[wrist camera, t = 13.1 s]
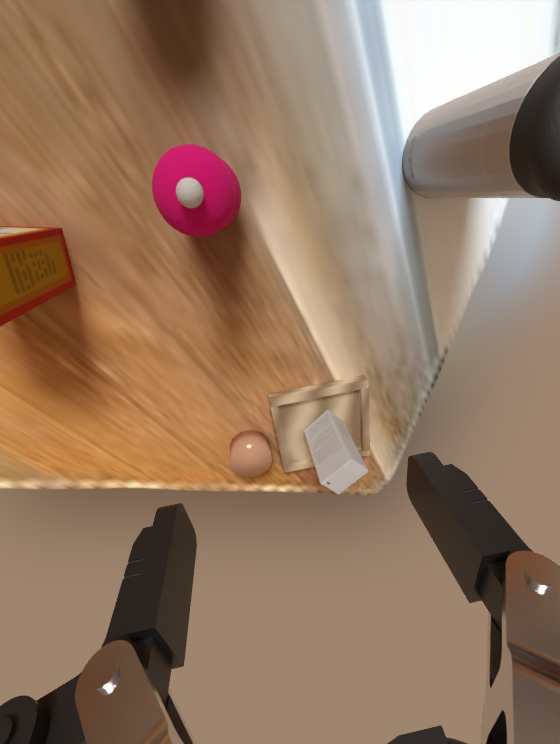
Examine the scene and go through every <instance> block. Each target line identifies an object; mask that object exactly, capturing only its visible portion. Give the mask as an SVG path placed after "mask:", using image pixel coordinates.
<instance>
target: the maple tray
mask: <svg viewBox="0 0 560 744" xmlns="http://www.w3.org/2000/svg"><path fill="white" fill-rule="evenodd" d="M268 396H269V402H270V406H271V411H272V416H273V421H274V426H275V430H276V435H277V440H278V445H279V450H280V455H281V459H282V464H283V469H284V473H286V472H291V471H296V470H301V469H305V468H310V467H315V465H314V462H313V459H312V456H311V453H310V449H309V446H308V443H307V440H306V437H305V434H304V430H305V429H306V428H307V427H308V426H310V425H311V424H312V423H313V422H314V421H315V420H316V419H317V418H318V417H320V416H321V415H322V414H323V413H324V412H325V411H326V410H327V409H329V410H330V411H331V412H333V413H334V414H335V415H336V416H337V417H339V418H340V419H341V420H343V422H344V424H345V426H346V428H347V430H348V432H349V434H350V436H351V437H352V439H353V441H354V443H355V445H356V447H357V449H358V451H359V453H360V455H361V457H363V456H368V455H370V432H369V382H368V380H367V379H366V377H365V376H364V375H363V376H358V377H353V378H348V379H343V380H338V381H333V382H328V383H323V384H318V385H313V386H308V387H303V388H298V389H293V390H288V391H283V392H278V393H273V394H268Z"/></svg>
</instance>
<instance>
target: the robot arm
mask: <svg viewBox="0 0 560 744" xmlns="http://www.w3.org/2000/svg"><path fill="white" fill-rule="evenodd" d="M403 171H404V175H405V178H406V180H407V182H408V184H409V186H410V187H411V188H412V189H413V191H415V192H416V193H418V194H419V195H421V196H424V197H437V198H550V199H553V200H556V201H560V53H558V54H556V55H554V56H552V57H549V58H547V59H545V60H543V61H540V62H538V63H536V64H534V65H532V66H530V67H527V68H525V69H523V70H520V71H518V72H516V73H514V74H511V75H509V76H507V77H505V78H502V79H500V80H498V81H496V82H493V83H491V84H489V85H487V86H484V87H482V88H480V89H477V90H475V91H473V92H471V93H468V94H466V95H464V96H462V97H459V98H457V99H454V100H452V101H450V102H448V103H446V104H443V105H441V106H439V107H437V108H435V109H432V110H431V111H429V112H428V113H426V114H425V115H424V116H423V117H422V118H421V119H420V120H419V121H418V122H417V123H416V125H415V126H414V128H413V129H412V131H411V133H410V135H409V137H408V139H407V141H406V145H405V149H404V154H403ZM407 492H408V495H409V498H410V500H411V503H412V505H413V506H414V508H415V509H416V511H417V513H418V515H419V517H420V518H421V520H422V522H423V524H424V525H425V527H426V529H427V530H428V532H429V534H430V536H431V537H432V538H433V541H434V543H435V544H436V546H437V548H438V549H439V551H440V553H441V554H442V556H443V558H444V560H445V562H446V563H447V565H448V567H449V568H450V570H451V572H452V574H453V575H454V577H455V579H456V580H457V582H458V584H459V585H460V587H461V589H462V591H463V592H464V594H465V596H466V598H467V599H468V601H469V603H472V602H476V601H481V600H482V601H483V603H484V604H485V606H486V608H487V609H488V611H489V614H488V640H487V671H486V693H485V701H484V706H483V714H482V727H481V729H482V730H481V744H560V566H559V565H557V564H556V563H555V562H553V561H552V560H550V559H549V558H547V557H545V556H543V555H541V554H538V553H535V552H533V551H532V550H531V549H530V548H528V546H527V545H526V544H525V543H524V542H523V541H522V540H521V538H520V537H519V536H518V535H517V534H516V532H515V531H514V530H513V529H512V528H511V526H510V525H509V524H508V523H507V522H506V520H505V519H504V518H503V517H502V516H501V515H500V513H499V512H498V511H497V510H496V508H495V507H494V506H493V505H492V504H491V503H490V501H488V500H487V498H486V497H485V496H484V494H483V493H482V492H481V491H480V490H478V487H477V486H476V485H475V483H474V482H473V481H472V480H471V479H470V477H469V476H468V475H467V474H466V473H464V472H463V471H461V470H459V469H458V468H457V467H455V466H454V465H452V464H449V465H444V466H443V464H442V463H441V462H440V460H439V459H438V458H437V457H436V455H435V454H434V453H432V452H427V453H422V454H418V455H413V456H409V458H408V471H407ZM196 547H197V543H196V534H195V530H194V528H193V526H192V523H191V521H190V519H189V517H188V515H187V513H186V511H185V508H184V506H183V505H182V504H181V503H179V504H175V505H170V506H165V507H160V508H158V510H157V512H156V515H155V519H154V523H153V526H151V527H146V528H143V530H142V531H141V533H140V535H139V536H138V537H137V539H136V541H135V542H134V544H133V547H132V550H131V553H130V557H129V560H128V565H127V568H126V571H125V574H124V579H123V581H122V584H121V588H120V591H119V594H118V598H117V602H116V605H115V608H114V612H113V615H112V618H111V622H110V626H109V629H108V632H107V636H106V638H105V641H104V643H103V645H102V647H101V649H99V650H98V651H97V652H96V653H95V654H94V655H93V656H92V657H91V659H90V660H89V661H88V663H87V664H86V666H85V667H84V669H83V671H82V672H81V673H80V674H79V675H78V676H76V677H75V678H73V679H72V680H70V681H68V682H67V683H65V684H63V685H62V686H60V687H59V688H57V689H55V690H53V691H52V692H50V693H49V694H47V695H45V696H44V697H42V698H40V699H39V700H37V701H36V700H34V699H33V698H31V697H29V696H18V697H15V698H13V699H11V700H9V701H7V702H6V703H4V704H3V705H1V706H0V744H196V742H195V740H194V738H193V736H192V734H191V732H190V730H189V728H188V726H187V724H186V722H185V720H184V718H183V716H182V714H181V712H180V710H179V708H178V706H177V704H176V702H175V700H174V698H173V696H172V694H171V692H170V690H169V681H170V673H171V669H174V668H178V667H182V666H184V659H185V650H186V641H187V631H188V622H189V613H190V604H191V594H192V585H193V576H194V566H195V557H196ZM388 744H467V743H465V742H462V741H459V740H456V739H452V738H446V736H445V734H444V731H443V728H442V726H437V727H433V728H428V729H424V730H420V731H416V732H412V733H408V734H403V735H399V736H398V737H396V738H395V739H393V740H392V741H391V742H389V743H388Z"/></svg>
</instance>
